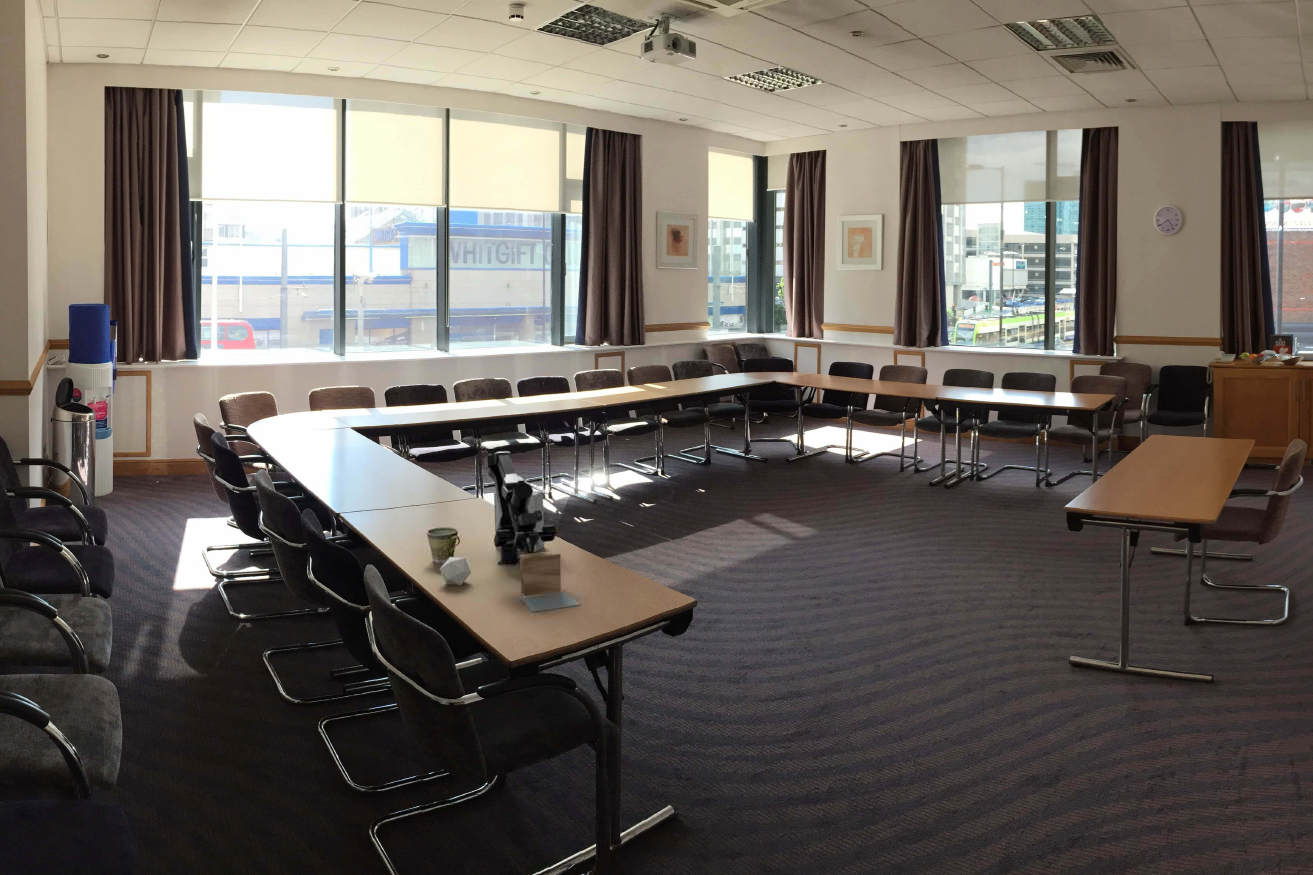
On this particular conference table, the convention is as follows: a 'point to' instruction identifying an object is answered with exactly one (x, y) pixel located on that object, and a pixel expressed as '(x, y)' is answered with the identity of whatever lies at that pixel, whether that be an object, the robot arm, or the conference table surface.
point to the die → (455, 571)
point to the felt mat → (549, 601)
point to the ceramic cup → (442, 543)
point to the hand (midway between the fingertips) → (531, 559)
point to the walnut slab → (540, 574)
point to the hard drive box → (534, 505)
